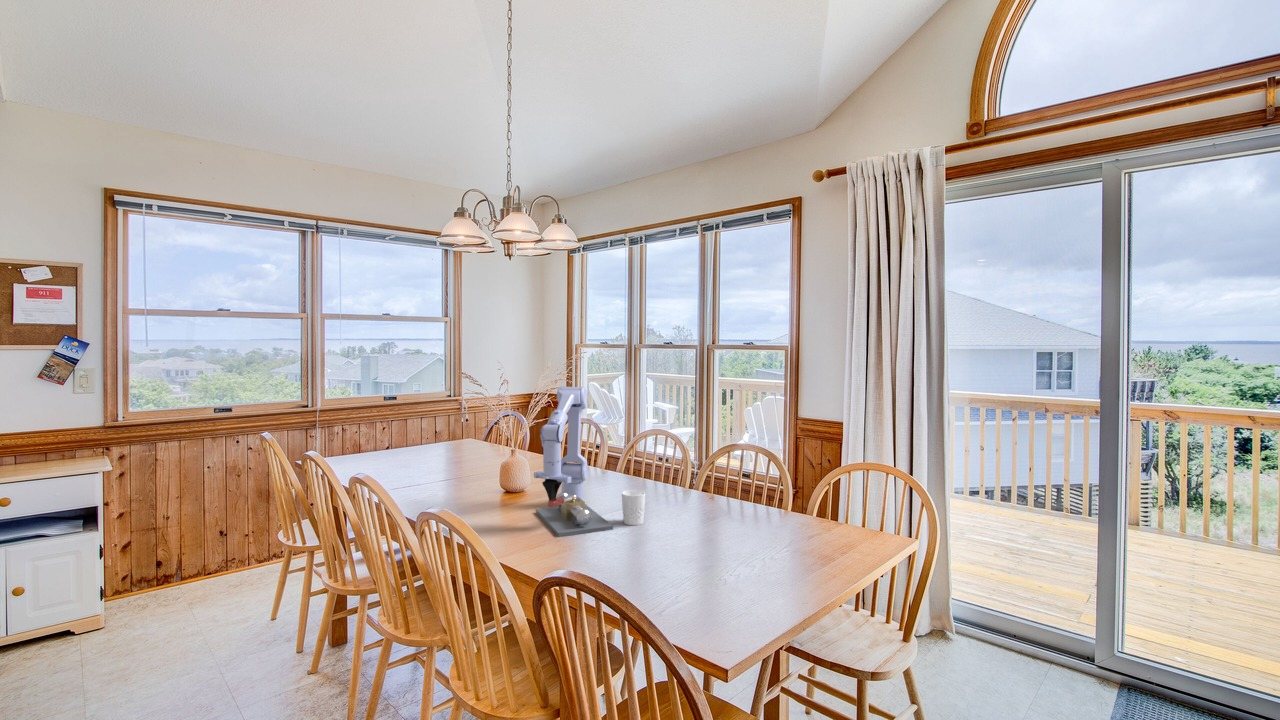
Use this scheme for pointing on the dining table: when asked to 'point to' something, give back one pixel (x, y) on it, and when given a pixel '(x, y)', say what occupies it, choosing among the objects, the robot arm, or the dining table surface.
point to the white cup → (633, 507)
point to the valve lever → (561, 500)
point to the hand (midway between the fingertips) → (552, 502)
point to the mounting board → (566, 527)
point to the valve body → (574, 511)
